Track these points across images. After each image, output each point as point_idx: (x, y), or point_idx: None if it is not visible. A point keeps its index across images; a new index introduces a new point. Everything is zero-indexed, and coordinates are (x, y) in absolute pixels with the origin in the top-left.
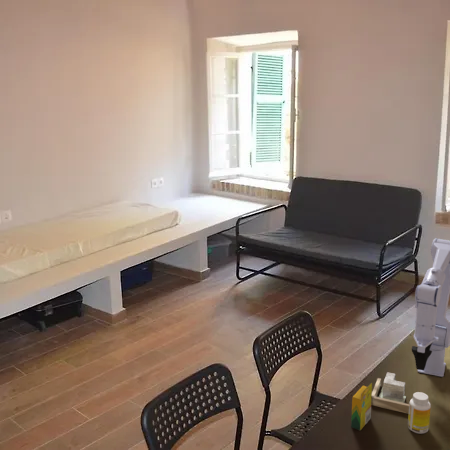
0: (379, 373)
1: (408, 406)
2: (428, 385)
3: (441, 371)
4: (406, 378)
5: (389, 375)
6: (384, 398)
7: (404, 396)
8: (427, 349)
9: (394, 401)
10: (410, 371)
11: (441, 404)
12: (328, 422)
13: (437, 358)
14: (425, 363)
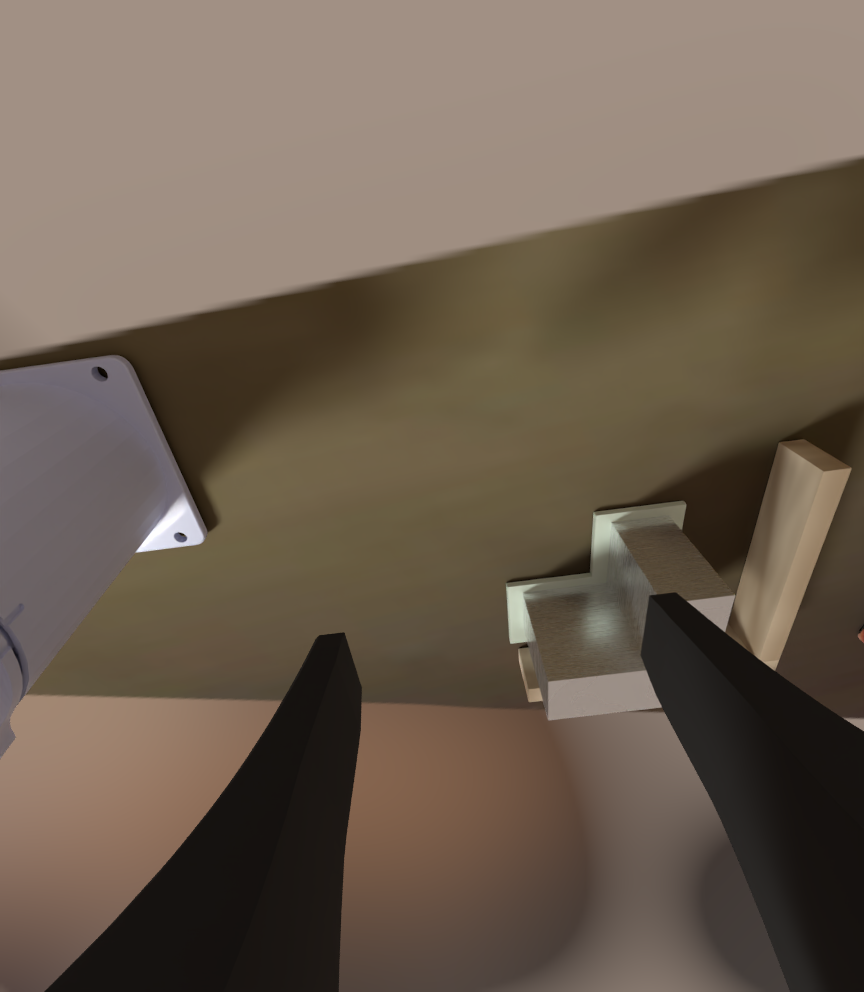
0: (386, 685)
1: (845, 478)
2: (344, 425)
3: (60, 390)
4: (345, 567)
5: (591, 700)
6: None
7: (601, 522)
8: (312, 771)
9: (798, 567)
10: (234, 572)
11: (594, 257)
12: None
13: (28, 501)
14: (783, 679)
